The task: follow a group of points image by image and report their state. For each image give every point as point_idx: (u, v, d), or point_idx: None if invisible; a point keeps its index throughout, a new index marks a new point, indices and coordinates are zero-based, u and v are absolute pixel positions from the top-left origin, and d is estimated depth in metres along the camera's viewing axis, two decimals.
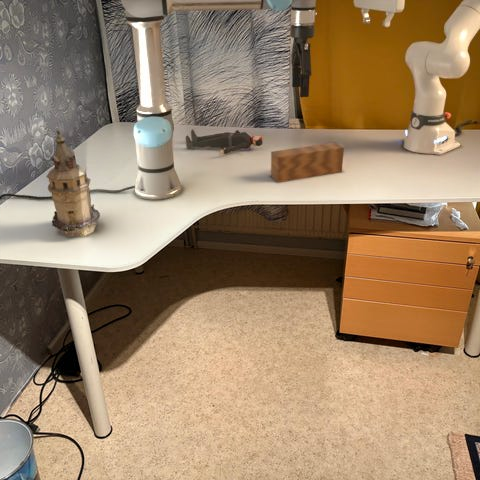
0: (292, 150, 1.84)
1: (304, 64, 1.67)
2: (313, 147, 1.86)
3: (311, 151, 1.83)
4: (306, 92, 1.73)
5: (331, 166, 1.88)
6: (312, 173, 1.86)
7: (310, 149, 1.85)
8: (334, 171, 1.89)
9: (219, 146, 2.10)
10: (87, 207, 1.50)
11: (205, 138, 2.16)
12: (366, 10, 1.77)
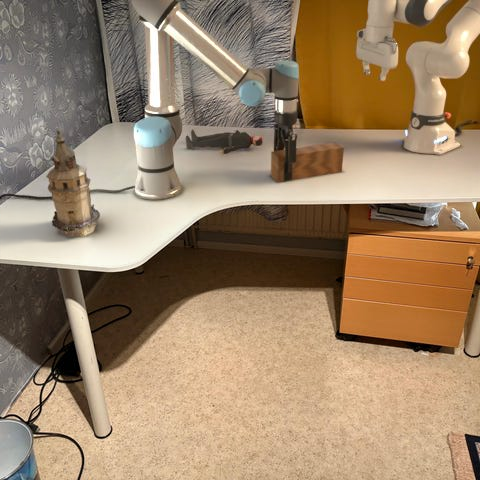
0: None
1: (290, 153, 1.76)
2: (313, 147, 1.86)
3: (311, 151, 1.83)
4: (289, 176, 1.83)
5: (331, 166, 1.88)
6: (312, 173, 1.86)
7: (310, 149, 1.85)
8: (334, 171, 1.89)
9: (219, 146, 2.10)
10: (87, 207, 1.50)
11: (205, 138, 2.16)
12: (367, 62, 1.86)
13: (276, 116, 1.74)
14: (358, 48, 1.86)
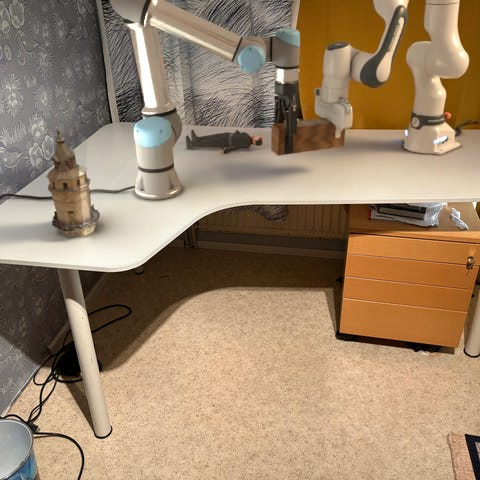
0: None
1: (291, 125, 1.71)
2: (315, 120, 1.81)
3: (312, 124, 1.78)
4: (290, 149, 1.78)
5: (333, 140, 1.83)
6: (313, 147, 1.82)
7: (312, 122, 1.80)
8: (336, 145, 1.85)
9: (219, 146, 2.10)
10: (87, 207, 1.50)
11: (205, 138, 2.16)
12: None
13: (277, 86, 1.69)
14: (316, 104, 1.88)
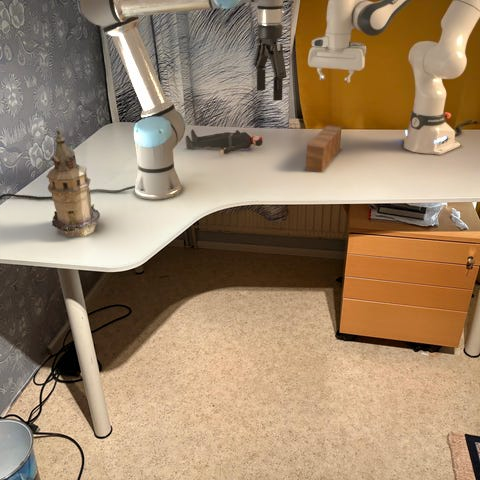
0: (318, 139, 1.93)
1: (278, 66, 1.58)
2: (325, 133, 2.00)
3: (331, 136, 1.96)
4: (279, 95, 1.64)
5: (337, 146, 2.06)
6: (331, 156, 2.00)
7: (326, 135, 1.98)
8: (337, 150, 2.08)
9: (219, 146, 2.10)
10: (87, 207, 1.50)
11: (205, 138, 2.16)
12: (321, 69, 1.95)
13: (259, 29, 1.59)
14: (312, 56, 1.93)
